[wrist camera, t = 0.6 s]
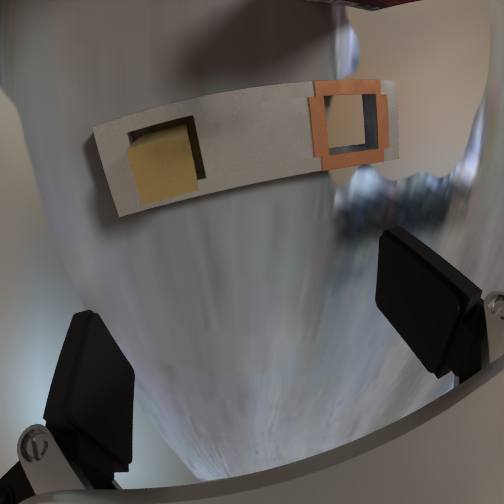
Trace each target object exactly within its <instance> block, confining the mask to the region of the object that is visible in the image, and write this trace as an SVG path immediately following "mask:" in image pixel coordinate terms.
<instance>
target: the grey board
mask: <svg viewBox="0 0 504 504" xmlns="http://www.w3.org/2000/svg"><path fill="white" fill-rule="evenodd" d="M348 94H362V99H363V112H364V127H365V144H360V145H351V146H343V147H336V148H328V136H327V125H326V115H325V105H324V96H329V95H348ZM191 115H193V117H194V122H195V127H196V132H197V137H198V142H199V147H200V151H201V156H202V161H203V165H204V170H205V172H201V173H197V180H198V187H199V191H195V192H191V193H187V194H183V195H179V196H175V197H171V198H167V199H163V200H160V201H156V202H152V203H148V204H145V205H142V203H141V199H140V196H139V193H138V189H137V186H136V183H135V179H134V176H133V172H132V169H131V165H130V161H129V158H128V154H127V150H126V149H127V148H128V147H129V146H130V145H131V144H132V143H133V142H135V141H134V137H133V133H132V131H134V130H138V129H141V128H145V127H148V126H152V125H155V124H159V123H163V122H166V121H170V120H174V119H178V118H182V117H187V116H191ZM92 128H93V132H94V136H95V140H96V144H97V147H98V151H99V155H100V158H101V162H102V165H103V168H104V172H105V175H106V178H107V181H108V185H109V188H110V191H111V194H112V197H113V200H114V203H115V206H116V209H117V212H118V215H119V217H122V216H125V215H129V214H132V213H136V212H139V211H143V210H146V209H150V208H154V207H157V206H161V205H165V204H169V203H173V202H177V201H180V200H184V199H188V198H192V197H197V196H201V195H205V194H209V193H213V192H218V191H222V190H226V189H231V188H235V187H240V186H244V185H249V184H254V183H258V182H263V181H268V180H273V179H278V178H283V177H289V176H294V175H299V174H305V173H310V172H316V171H322V170H323V171H325V170H331V169H337V168H343V167H350V166H356V165H363V164H370V163H377V162H383V161H387V160H395V159H399V135H398V134H399V132H398V107H397V90H396V81H394V80H393V81H392V80H322V81H306V82H293V83H283V84H274V85H265V86H258V87H250V88H244V89H237V90H231V91H225V92H220V93H215V94H209V95H204V96H200V97H195V98H190V99H186V100H182V101H177V102H173V103H169V104H165V105H162V106H158V107H154V108H150V109H147V110H143V111H140V112H137V113H133V114H130V115H127V116H124V117H121V118H117V119H114V120H111V121H108V122H106V123H103V124H100V125H97V126H95V127H92Z"/></svg>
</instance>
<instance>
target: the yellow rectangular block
mask: <svg viewBox="0 0 504 504" xmlns="http://www.w3.org/2000/svg"><path fill="white" fill-rule="evenodd" d="M126 150H127V154H128V158H129V161H130V165H131V169H132V172H133V176H134V179H135V183H136V186H137V189H138V193H139V196H140V199H141V203H142V205H145V204H148V203H152V202H156V201H160V200H163V199H167V198H171V197H175V196H179V195H183V194H187V193H191V192H195V191H199V187H198V180H197V174H196V168H195V163H194V158H193V153H192V149H191V144H190V140H189V135H188V130H187V125H186V123H185V124H180V125H176V126H172V127H168V128H165V129H161V130H157V131H154V132H150V133H146V134H143V135H141V136H140V137H139V138H138V139H137V140H136V141H135V142H133V143H132V144H131V145H130V146H129V147H128V148H127V149H126Z"/></svg>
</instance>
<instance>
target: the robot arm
mask: <svg viewBox="0 0 504 504" xmlns="http://www.w3.org/2000/svg"><path fill="white" fill-rule="evenodd" d="M481 294H482V290H481V289H480V288H479V287H477V286H476V285H475V284H474V283H473V282H472V281H470V280H469V279H468V278H467V277H466V276H464V275H463V274H462V273H461V272H460V271H458V270H457V269H456V268H455V267H453V266H452V265H451V264H450V263H448V262H447V261H446V260H445V259H443V258H442V257H441V256H440V255H438V254H437V253H436V252H435V251H433V250H432V249H431V248H429V247H428V246H427V245H425V244H424V243H423V242H421V241H420V240H419V239H417V238H416V237H415V236H413V235H412V234H411V233H409V232H408V231H406V230H405V229H404V228H402V227H400V226H397V227H393V228H390V229H387V230H384V231H383V234H382V236H380V238H379V254H378V271H377V284H376V296H375V301H376V305H377V307H378V308H379V310H380V311H381V312H382V313H383V314H384V316H385V317H386V318H387V319H388V321H389V322H390V323H391V324H392V326H393V327H394V328H395V329H396V331H397V332H398V333H399V334H400V336H401V337H402V338H403V339H404V341H405V342H406V343H407V344H408V346H409V347H410V348H411V350H412V351H413V352H414V353H415V355H416V356H417V357H418V359H419V360H420V361H421V363H422V364H423V365H424V366H425V368H426V369H427V370H428V371H429V372H430V373H434V374H435V376H436V377H437V378H438V379H439V378H441V377H442V376H444V375H446V374H447V373H449V372H450V371H452V372H453V373H454V374H455V375H454V388H453V389H452V390H450V391H449V392H447V393H446V394H444V395H442V396H441V397H439V398H437V399H436V400H434V401H432V402H431V403H429V404H427V405H426V406H424V407H422V408H420V409H418V410H417V411H415V412H413V413H411V414H409V415H407V416H405V417H404V418H402V419H400V420H398V421H396V422H394V423H392V424H390V425H388V426H386V427H383V428H381V429H379V430H377V431H375V432H373V433H370V434H368V435H366V436H364V437H361V438H359V439H357V440H354V441H352V442H350V443H347V444H345V445H342V446H339V447H337V448H334V449H332V450H329V451H326V452H323V453H321V454H318V455H315V456H312V457H309V458H306V459H303V460H300V461H296V462H293V463H290V464H286V465H283V466H279V467H276V468H272V469H268V470H264V471H260V472H256V473H252V474H247V475H243V476H238V477H233V478H228V479H223V480H217V481H211V482H205V483H198V484H190V485H182V486H173V487H161V488H145V489H122V488H121V487H120V485H118V483H117V482H116V481H115V480H114V472H129V464H130V463H131V462H132V430H133V400H134V382H135V374H134V370H133V368H132V366H131V364H130V363H129V361H128V360H127V359H126V357H125V356H124V354H123V353H122V351H121V350H120V348H119V346H118V345H117V343H116V342H115V340H114V339H113V337H112V335H111V334H110V332H109V331H108V329H107V327H106V326H105V324H104V322H103V321H102V319H101V317H100V316H99V314H97V313H94V312H93V311H91V310H87V311H83V312H79V313H75V314H74V316H73V318H72V321H71V323H70V326H69V329H68V332H67V335H66V338H65V341H64V344H63V347H62V350H61V353H60V356H59V359H58V362H57V366H56V369H55V373H54V376H53V380H52V383H51V387H50V391H49V395H48V399H47V403H46V407H45V411H44V415H43V419H45V420H46V426H43V425H41V424H35V425H31V426H30V427H28V428H26V430H25V431H24V432H23V433H22V434H21V436H20V438H19V441H18V444H17V453H18V457H19V461H18V462H17V463H16V464H15V465H14V466H13V467H12V468H11V469H10V470H9V471H8V472H7V473H6V474H5V475H4V476H3V477H2V478H1V479H0V504H504V292H501V291H495V292H491V293H489V294H488V295H487V296H486V297H485V299H484V300H483V299H481V298H480V297H481Z"/></svg>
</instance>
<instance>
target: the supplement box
mask: <svg viewBox="0 0 504 504" xmlns="http://www.w3.org/2000/svg"><path fill="white" fill-rule="evenodd" d="M305 1H315V2H324V3H332V4H339V5H345V6H351V7H355V8H360V9H364V10H369V11H375V10H379V9H383V8H387V7H391V6H395V5H400V4H405V3H409V2H415V1H420V0H305Z"/></svg>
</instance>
